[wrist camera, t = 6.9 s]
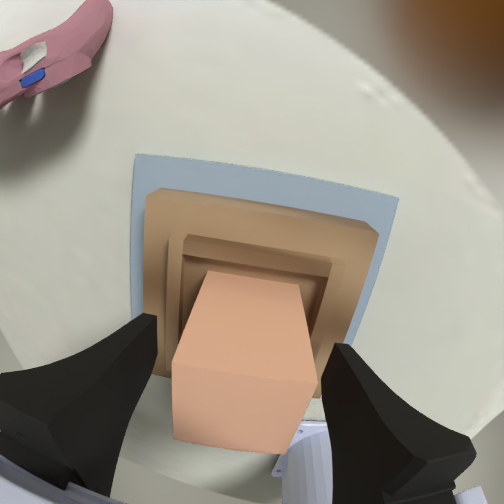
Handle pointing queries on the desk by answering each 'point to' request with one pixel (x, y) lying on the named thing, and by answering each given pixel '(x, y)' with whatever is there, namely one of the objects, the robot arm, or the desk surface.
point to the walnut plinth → (251, 262)
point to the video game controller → (55, 53)
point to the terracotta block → (243, 366)
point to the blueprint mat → (262, 190)
